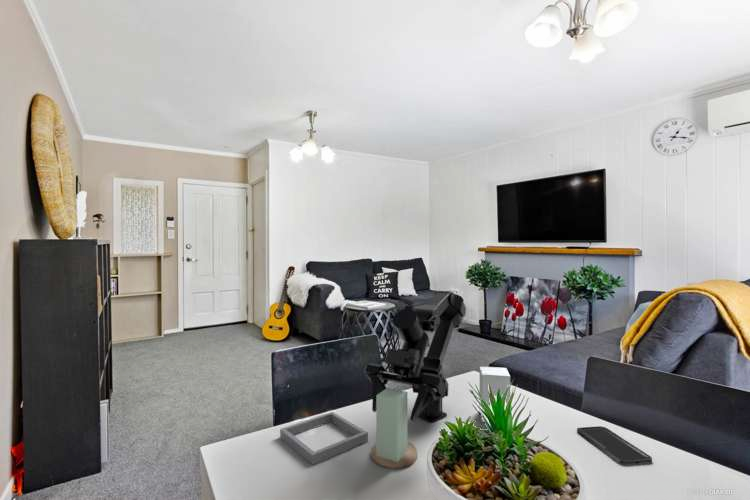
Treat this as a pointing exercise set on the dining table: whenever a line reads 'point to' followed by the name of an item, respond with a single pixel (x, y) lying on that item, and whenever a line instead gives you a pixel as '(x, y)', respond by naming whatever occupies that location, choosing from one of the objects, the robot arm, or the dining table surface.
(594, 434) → the phone
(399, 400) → the green block
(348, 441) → the tray
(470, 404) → the dining table surface
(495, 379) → the supplement box
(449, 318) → the robot arm
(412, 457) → the coaster
